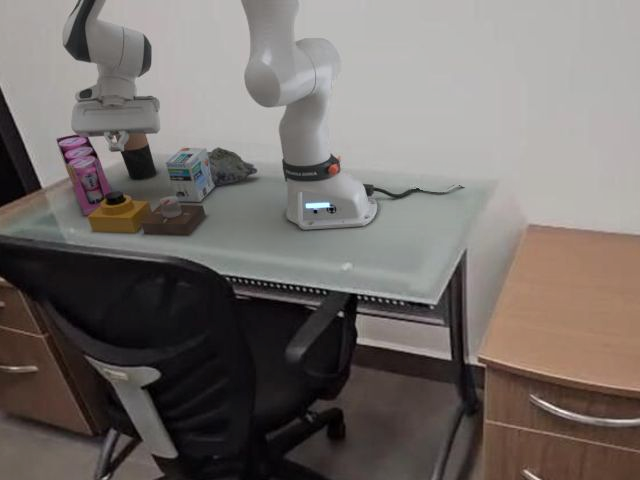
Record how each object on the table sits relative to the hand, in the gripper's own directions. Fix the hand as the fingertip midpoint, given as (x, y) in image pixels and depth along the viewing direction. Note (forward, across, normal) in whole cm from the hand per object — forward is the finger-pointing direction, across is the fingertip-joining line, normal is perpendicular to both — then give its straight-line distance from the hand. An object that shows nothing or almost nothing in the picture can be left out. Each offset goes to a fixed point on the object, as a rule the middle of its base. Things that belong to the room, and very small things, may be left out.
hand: (116, 150), depth 148 cm
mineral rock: (+2, -22, -20) cm, 29 cm away
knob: (+17, -13, 0) cm, 21 cm away
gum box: (+5, +13, -16) cm, 22 cm away
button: (+13, 0, 0) cm, 13 cm away
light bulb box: (+6, -14, -15) cm, 22 cm away
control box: (+17, 0, -4) cm, 17 cm away
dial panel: (+19, -13, -3) cm, 23 cm away
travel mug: (-4, +4, -26) cm, 27 cm away
